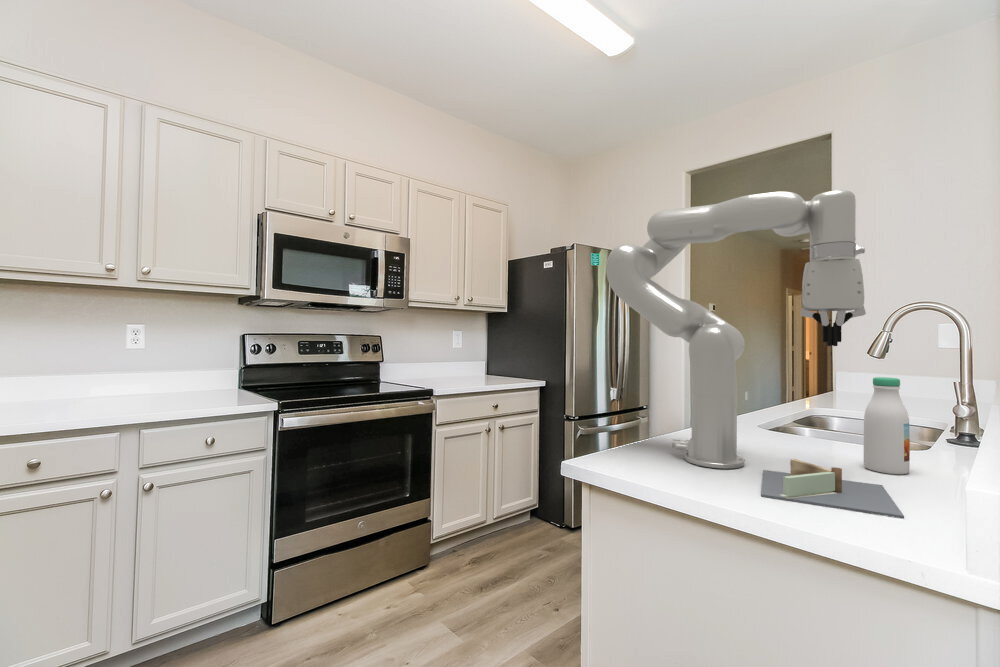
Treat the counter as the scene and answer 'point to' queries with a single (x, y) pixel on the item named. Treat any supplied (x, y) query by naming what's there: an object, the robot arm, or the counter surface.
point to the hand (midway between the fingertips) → (831, 345)
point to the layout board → (836, 496)
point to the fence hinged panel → (808, 483)
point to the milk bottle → (886, 429)
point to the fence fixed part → (807, 468)
